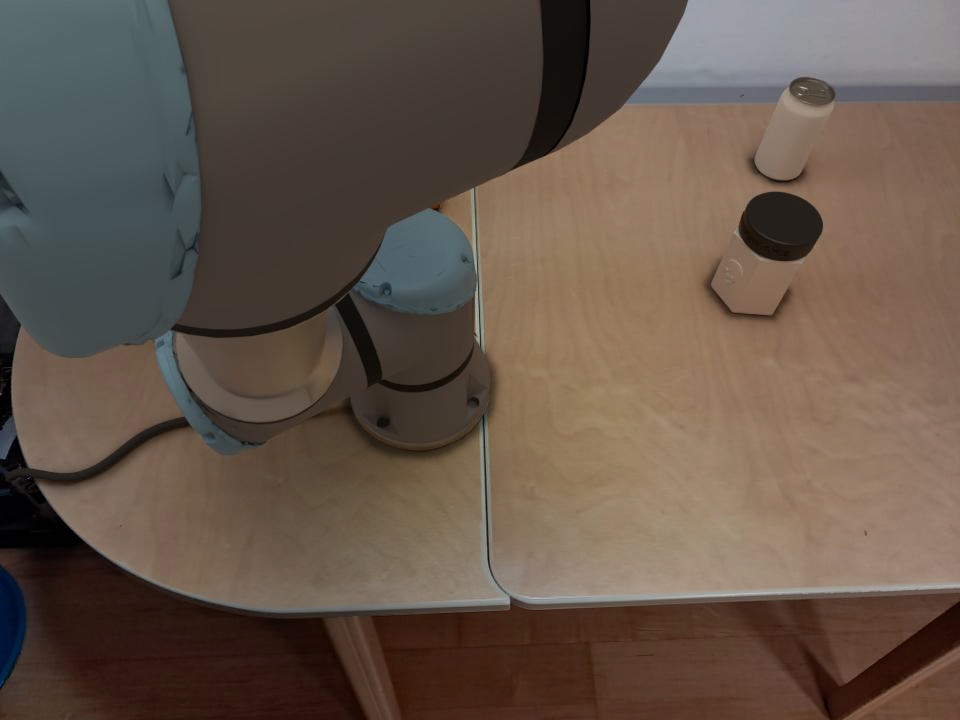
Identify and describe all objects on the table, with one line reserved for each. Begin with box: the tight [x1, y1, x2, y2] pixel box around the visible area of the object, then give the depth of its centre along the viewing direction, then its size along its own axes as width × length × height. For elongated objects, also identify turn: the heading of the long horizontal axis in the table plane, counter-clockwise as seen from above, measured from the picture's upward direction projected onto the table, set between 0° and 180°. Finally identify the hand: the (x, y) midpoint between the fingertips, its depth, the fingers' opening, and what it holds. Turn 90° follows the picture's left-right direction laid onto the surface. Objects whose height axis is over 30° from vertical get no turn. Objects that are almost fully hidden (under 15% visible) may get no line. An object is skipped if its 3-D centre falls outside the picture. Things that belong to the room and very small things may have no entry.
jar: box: [710, 191, 824, 316], centre depth 79 cm, size 9×8×12 cm
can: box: [754, 76, 837, 182], centre depth 92 cm, size 6×6×12 cm
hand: (167, 189), depth 75 cm, fingers closed on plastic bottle, 6 cm apart
